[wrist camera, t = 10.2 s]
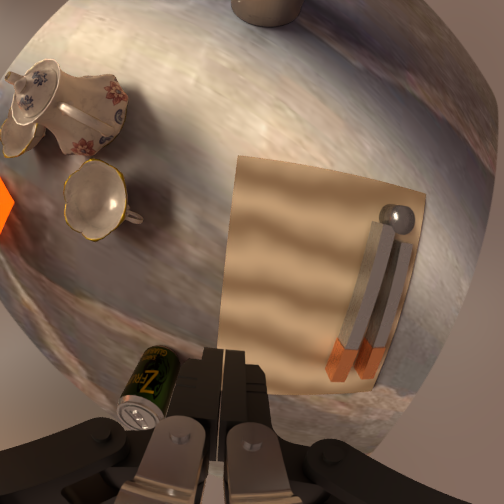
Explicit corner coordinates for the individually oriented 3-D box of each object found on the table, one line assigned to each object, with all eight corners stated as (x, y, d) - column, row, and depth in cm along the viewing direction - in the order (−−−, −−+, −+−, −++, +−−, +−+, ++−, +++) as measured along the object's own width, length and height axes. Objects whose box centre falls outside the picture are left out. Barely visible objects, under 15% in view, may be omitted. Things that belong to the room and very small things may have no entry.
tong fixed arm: (389, 237, 30) (401, 242, 27) (401, 240, 30) (414, 244, 28) (353, 367, 34) (361, 379, 31) (365, 366, 34) (373, 378, 31)
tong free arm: (375, 198, 29) (388, 199, 26) (403, 207, 29) (417, 209, 26) (324, 368, 33) (330, 382, 30) (351, 369, 34) (359, 382, 31)
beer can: (187, 370, 35) (171, 433, 23) (154, 376, 35) (131, 434, 23) (171, 339, 34) (146, 399, 22) (138, 346, 34) (105, 402, 22)
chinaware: (17, 150, 28) (-61, 159, 12) (63, 54, 24) (-11, 26, 8) (139, 244, 33) (61, 304, 17) (209, 126, 28) (159, 87, 12)
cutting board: (238, 157, 29) (237, 155, 28) (419, 193, 31) (425, 193, 29) (214, 383, 35) (213, 389, 34) (367, 385, 37) (371, 391, 36)
